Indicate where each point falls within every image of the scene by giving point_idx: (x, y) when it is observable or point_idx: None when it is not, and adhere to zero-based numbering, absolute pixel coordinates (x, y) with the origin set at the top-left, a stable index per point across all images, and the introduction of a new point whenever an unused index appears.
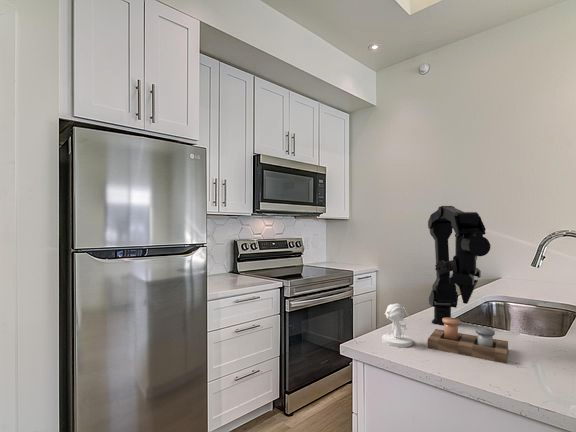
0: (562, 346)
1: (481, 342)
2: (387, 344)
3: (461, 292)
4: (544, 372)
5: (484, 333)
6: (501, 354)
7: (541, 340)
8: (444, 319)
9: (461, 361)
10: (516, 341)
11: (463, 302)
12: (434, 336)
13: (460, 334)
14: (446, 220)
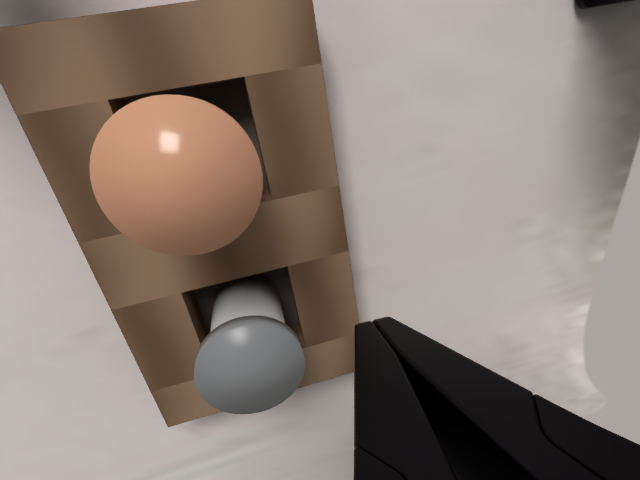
0: None
1: (211, 326)
2: None
3: (356, 475)
4: (201, 475)
5: (196, 385)
6: (160, 408)
7: (541, 371)
8: (129, 129)
9: (5, 275)
10: (482, 326)
11: (354, 332)
12: (107, 51)
13: (308, 178)
14: None
